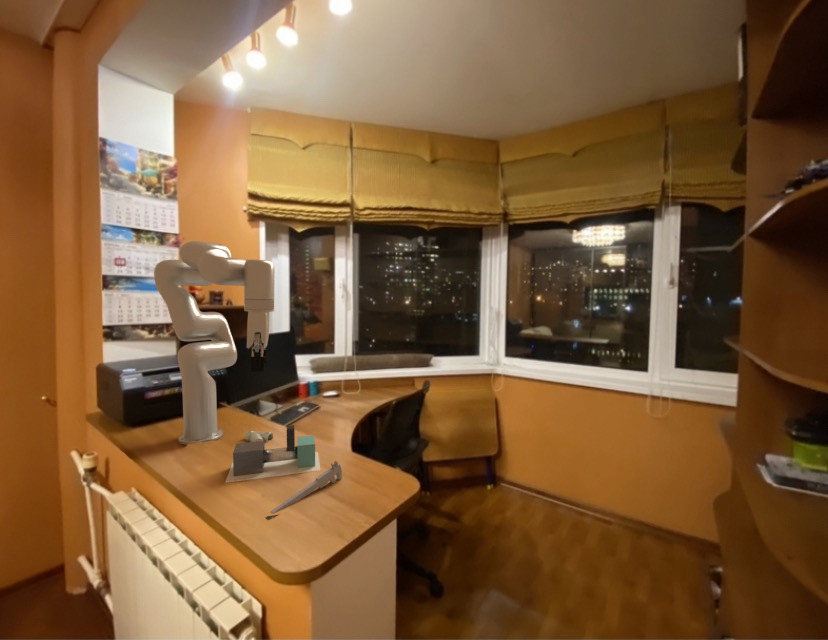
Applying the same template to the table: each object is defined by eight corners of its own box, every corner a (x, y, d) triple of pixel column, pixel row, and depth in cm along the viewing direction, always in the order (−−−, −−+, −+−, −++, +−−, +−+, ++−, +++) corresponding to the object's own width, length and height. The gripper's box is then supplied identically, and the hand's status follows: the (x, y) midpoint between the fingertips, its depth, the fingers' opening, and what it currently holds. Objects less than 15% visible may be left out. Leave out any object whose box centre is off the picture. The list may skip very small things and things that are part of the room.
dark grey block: (237, 465, 101) (236, 443, 101) (264, 462, 103) (264, 440, 103) (233, 476, 95) (232, 453, 95) (262, 472, 97) (262, 449, 97)
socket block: (297, 458, 106) (297, 437, 106) (314, 456, 108) (313, 435, 107) (297, 468, 100) (297, 445, 100) (315, 466, 101) (315, 443, 101)
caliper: (339, 482, 95) (339, 458, 95) (342, 483, 95) (341, 459, 94) (265, 520, 79) (264, 491, 79) (268, 522, 79) (267, 493, 78)
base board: (233, 465, 104) (232, 461, 104) (317, 454, 111) (317, 451, 111) (225, 486, 92) (225, 482, 92) (320, 473, 99) (320, 470, 99)
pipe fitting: (261, 451, 114) (273, 441, 121) (260, 439, 113) (272, 430, 120) (238, 449, 116) (251, 439, 122) (237, 437, 115) (250, 428, 122)
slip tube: (256, 460, 101) (255, 428, 101) (309, 454, 106) (309, 423, 105) (255, 466, 98) (254, 432, 97) (310, 459, 102) (309, 427, 102)
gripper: (247, 303, 108) (247, 360, 110) (240, 307, 92) (240, 375, 93) (275, 303, 111) (274, 360, 112) (272, 308, 94) (272, 374, 96)
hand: (259, 367), depth 103 cm, fingers open, 9 cm apart
